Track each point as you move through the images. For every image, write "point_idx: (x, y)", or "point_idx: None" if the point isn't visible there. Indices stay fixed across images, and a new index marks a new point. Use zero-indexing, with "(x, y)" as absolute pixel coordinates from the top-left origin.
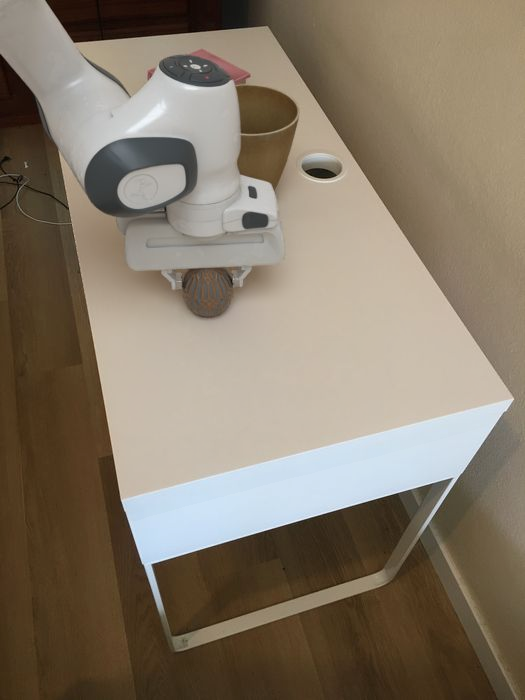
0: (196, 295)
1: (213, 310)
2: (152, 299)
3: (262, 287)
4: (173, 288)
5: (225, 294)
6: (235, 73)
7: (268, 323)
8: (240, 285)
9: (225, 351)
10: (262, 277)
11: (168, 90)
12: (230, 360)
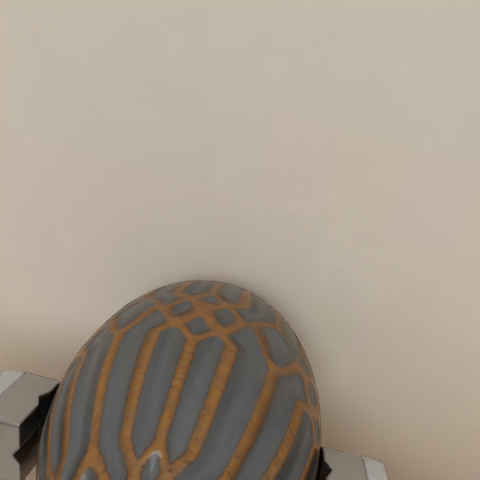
0: (262, 381)
1: (195, 286)
2: (420, 434)
3: (16, 365)
4: (378, 470)
5: (96, 343)
6: None
7: (10, 198)
8: (13, 377)
9: (200, 94)
10: None
11: None
12: (188, 34)
